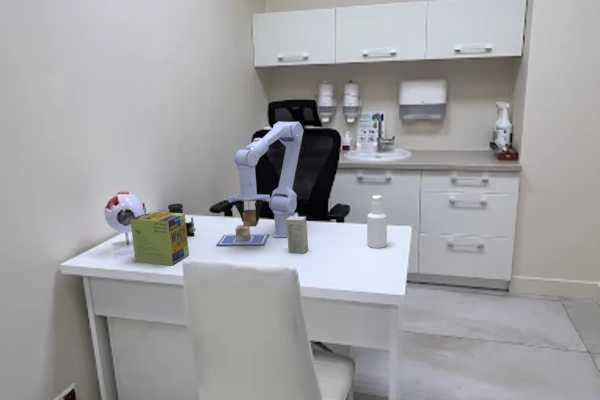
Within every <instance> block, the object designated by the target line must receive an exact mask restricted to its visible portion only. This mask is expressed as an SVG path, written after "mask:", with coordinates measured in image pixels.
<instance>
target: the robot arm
mask: <svg viewBox="0 0 600 400" xmlns="http://www.w3.org/2000/svg"><path fill="white" fill-rule="evenodd" d="M272 125H273V127H272V129H270V130H269V131H268V132H267V133H266V134H265V135H264V136H263V137H262V138H261V137H255V138H253V141H252V142H251V143H250V144H248V145H246V146H245V148H244V149H239V150H238V151H237V152H236V153H235V155H234V158H233V159H234V160H233V161H234V163H235V165H236V169H237V171H238V176H239V177H238V178H239V189H240V190H239V191H240V194H235V195H228V198H227V200H228V203H233V202H234V206H235V208H236V210H237V211H238V213H239V215H240V218H241V222H242V223H243V212H244V210H245V202H254V208H255V209H254V210H256V222H257V221H258V222H259V221H260V213H261V210H262V207H263V204H264V202H268V206H269V208H270V209H271V211H272V214H273V216H274V217H273V218H274V233H273V236H272V237H273V238H287V226H286V219H287V218H289V217H290V216H297V217H299V213H298V212H295V210H296V209H297V203H298V202H297V198H298V195H297V193H296V192H295V191H294V190H293V187H294V181H295V175H296V171H297V166H298V160H299V155H300V150H301V146H302V140H303V134H304V131H305V130H304V128H303V126H302V124H301V123H300V121H277V122H276V123H274V124H272ZM278 140H279V141H280V142H281V143H282V145H283V146H285V152H284V156H283V163H282V167H281V172H280V178H279V182H278V186H277V188H275V189H274V190H272V194H271V195H270V194H261V193H260V194H259V193H258V194H257V192H258V191H257V189H258V188H257V178H256V175H257V174H256V166H257V165H258V162H259V159H260V158H261V157H262V156H263V155H265V154H266V153H267V152H268V151H269V146H271V145H272V144H273V143H274V142H276V141H278ZM270 196H271V197H270Z"/></svg>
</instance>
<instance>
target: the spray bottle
mask: <svg viewBox="0 0 600 400" xmlns="http://www.w3.org/2000/svg"><path fill="white" fill-rule="evenodd" d="M387 221H388V216H387V214H386V213H384V209H383V196H382V195H371V206H370V213H368V214H367V216H366V226H367V227H366V231H367V232H366V233H367V235H366V236H367V240H366V241H367V246H368V247H370V248H373V249H382V248H385V247H387V245H388V244H387V242H388V241H387V240H388V239H387V238H388V236H387V235H388V234H387V233H388V232H387V230H388V228H387V227H388V222H387Z"/></svg>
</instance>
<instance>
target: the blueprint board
mask: <svg viewBox="0 0 600 400" xmlns="http://www.w3.org/2000/svg"><path fill="white" fill-rule="evenodd" d="M269 236H270V233H258V234H257V233H254V234H253V233H250V239H249V240H248V241H236V234H223V236H221V238H220V239H219V241H218V242H217V243H216V247H250V246H251V247H257V246H258V247H261V246H263V247H265V245H266V243H267V241H268V239H269Z"/></svg>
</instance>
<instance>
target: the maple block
mask: <svg viewBox="0 0 600 400" xmlns="http://www.w3.org/2000/svg"><path fill="white" fill-rule="evenodd" d="M234 230H235V235H236V241H248V240H249V239H250V234H251V227H244V225H243V224H237V226H236V227H235V229H234Z"/></svg>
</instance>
